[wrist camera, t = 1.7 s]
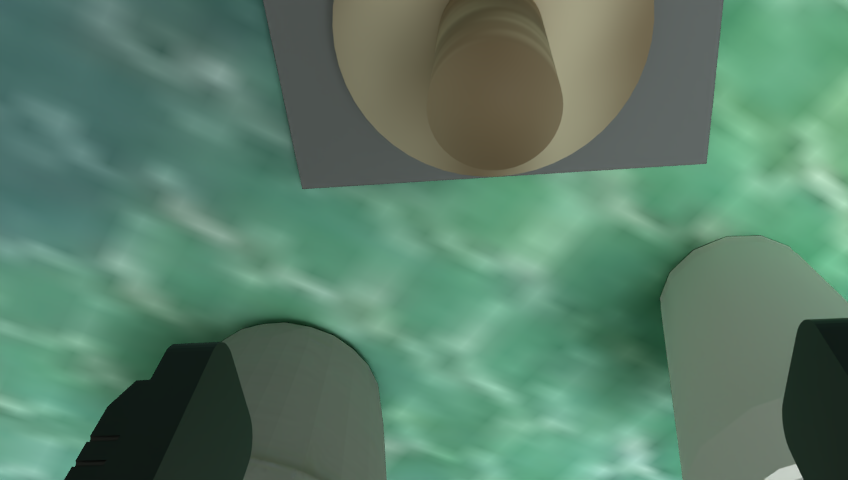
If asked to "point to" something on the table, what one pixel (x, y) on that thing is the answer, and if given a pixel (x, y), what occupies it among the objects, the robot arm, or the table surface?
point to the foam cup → (737, 353)
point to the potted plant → (308, 405)
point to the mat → (611, 149)
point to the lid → (491, 75)
